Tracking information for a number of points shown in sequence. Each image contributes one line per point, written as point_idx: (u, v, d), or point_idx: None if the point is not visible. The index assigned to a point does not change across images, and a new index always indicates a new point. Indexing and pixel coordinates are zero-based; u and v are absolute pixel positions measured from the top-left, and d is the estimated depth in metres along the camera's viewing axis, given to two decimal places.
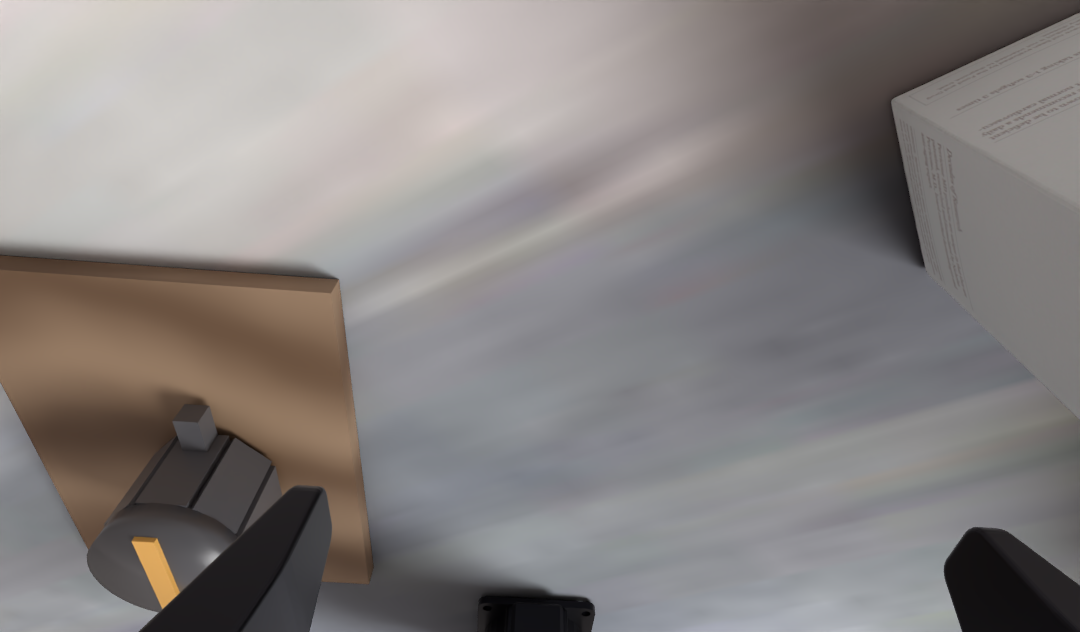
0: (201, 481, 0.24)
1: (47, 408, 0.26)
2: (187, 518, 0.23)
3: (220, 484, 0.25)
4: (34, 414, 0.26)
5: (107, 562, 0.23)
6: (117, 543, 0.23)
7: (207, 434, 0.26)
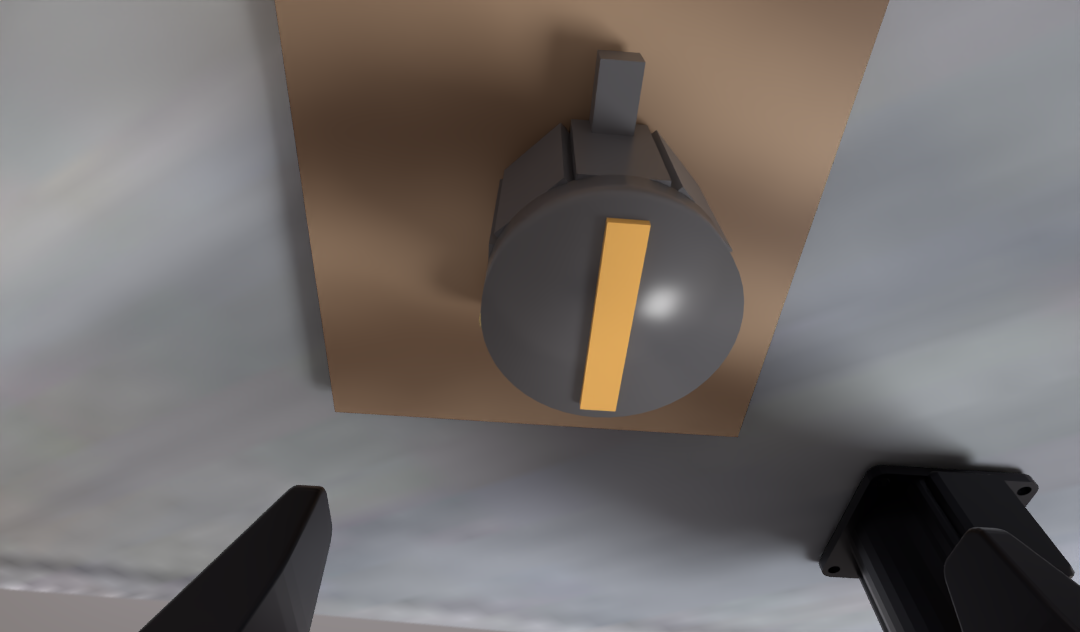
0: None
1: (343, 72, 0.15)
2: (682, 199, 0.12)
3: (682, 176, 0.14)
4: (316, 87, 0.15)
5: (522, 289, 0.12)
6: (563, 237, 0.12)
7: (636, 104, 0.15)
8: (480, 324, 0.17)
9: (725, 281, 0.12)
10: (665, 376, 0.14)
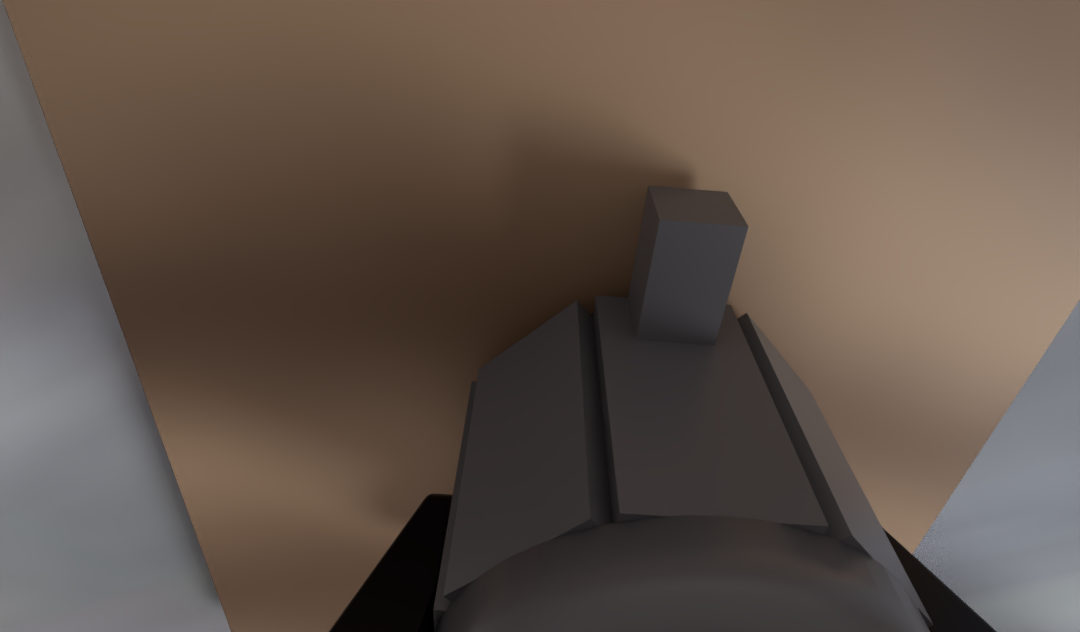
0: (785, 434, 0.07)
1: (184, 216, 0.08)
2: (859, 581, 0.05)
3: (819, 447, 0.07)
4: (141, 239, 0.09)
5: None
6: None
7: (721, 287, 0.08)
8: None
9: None
10: None
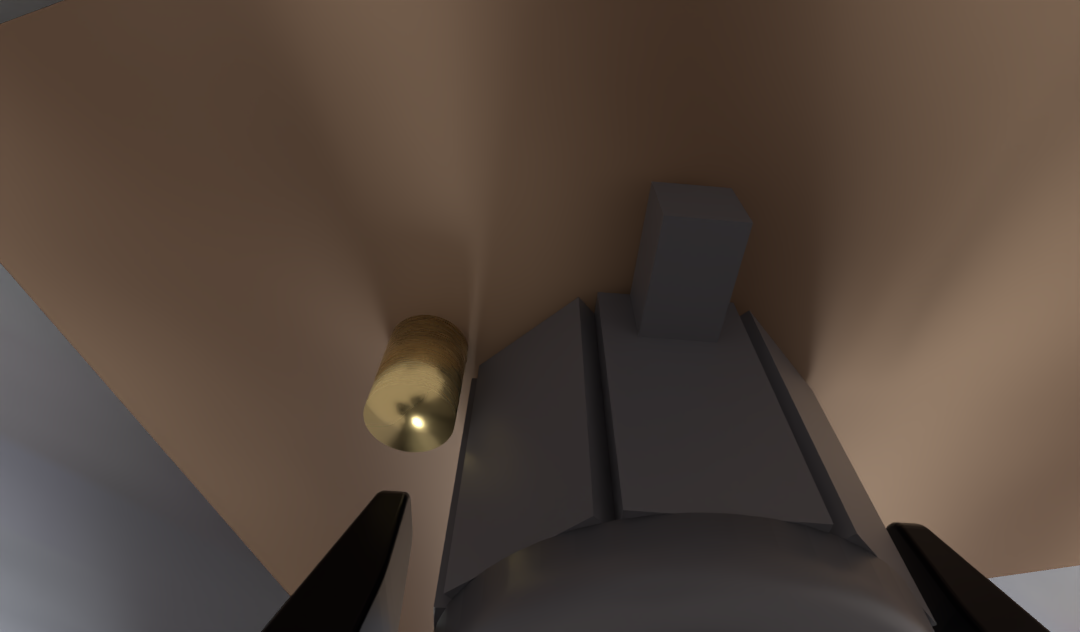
0: (789, 432, 0.07)
1: None
2: (865, 580, 0.05)
3: (822, 445, 0.07)
4: None
5: None
6: None
7: None
8: (382, 392, 0.08)
9: None
10: None
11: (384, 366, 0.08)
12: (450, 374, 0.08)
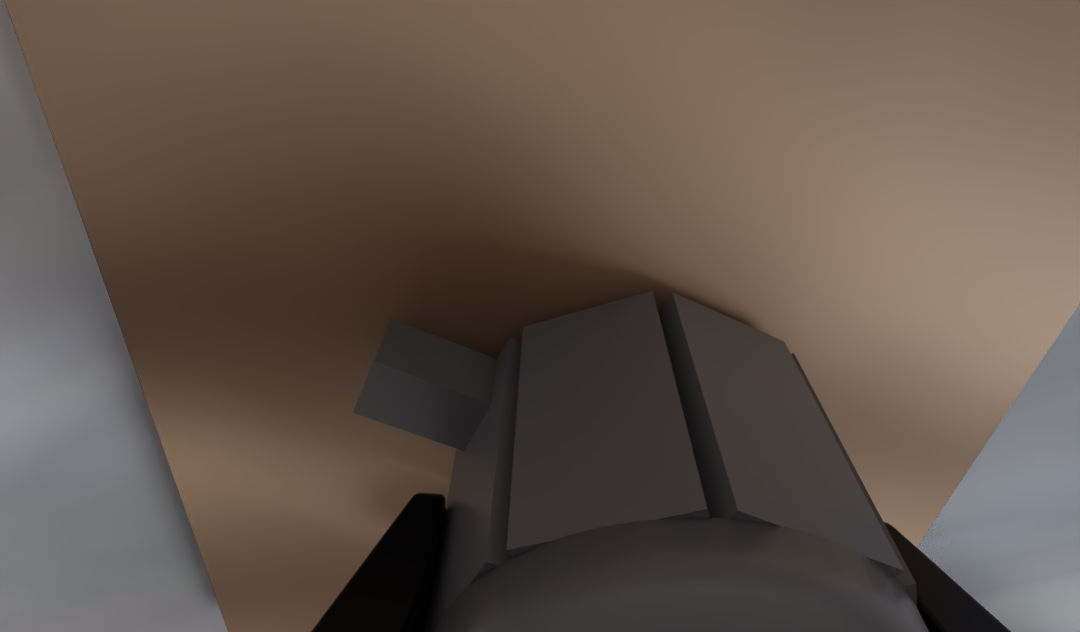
0: (499, 467, 0.07)
1: (184, 213, 0.08)
2: (511, 596, 0.06)
3: (551, 431, 0.07)
4: (140, 236, 0.09)
5: None
6: None
7: (449, 372, 0.09)
8: None
9: None
10: None
11: None
12: None
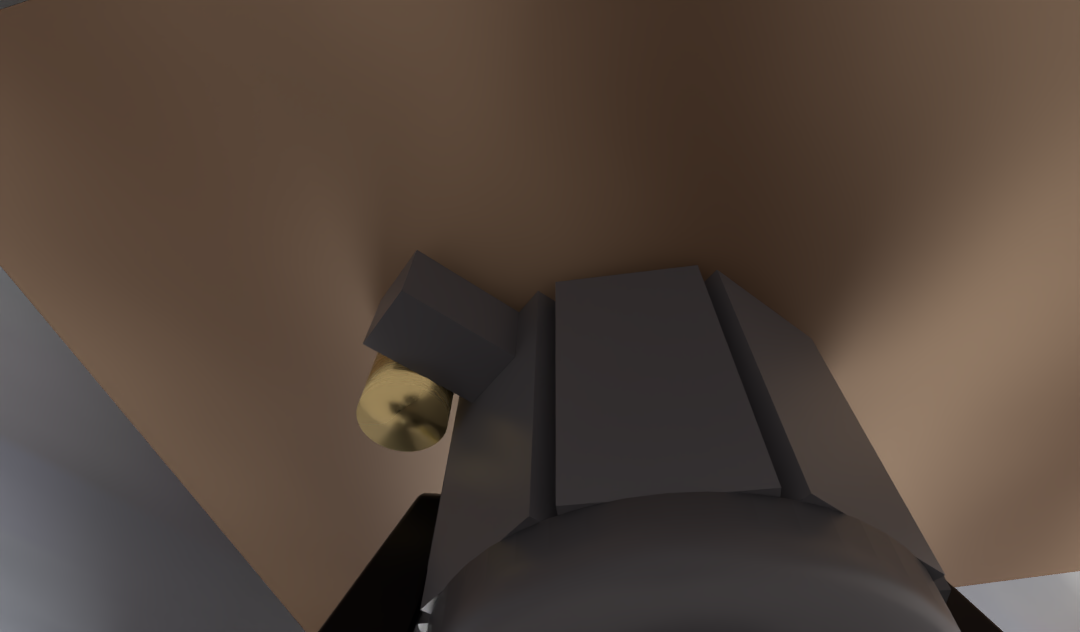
0: (536, 420, 0.06)
1: None
2: (561, 554, 0.05)
3: (597, 390, 0.07)
4: None
5: None
6: None
7: (474, 316, 0.08)
8: (376, 391, 0.08)
9: None
10: None
11: (378, 365, 0.08)
12: None
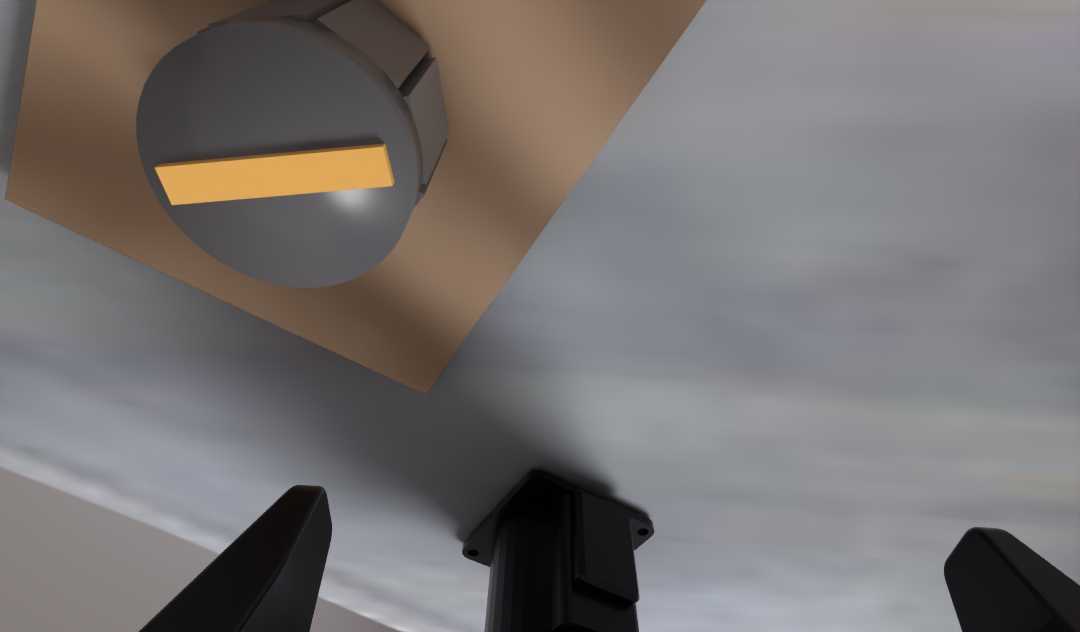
0: None
1: None
2: None
3: None
4: None
5: (278, 257, 0.14)
6: (213, 231, 0.13)
7: None
8: None
9: (179, 68, 0.11)
10: (325, 95, 0.12)
11: None
12: None
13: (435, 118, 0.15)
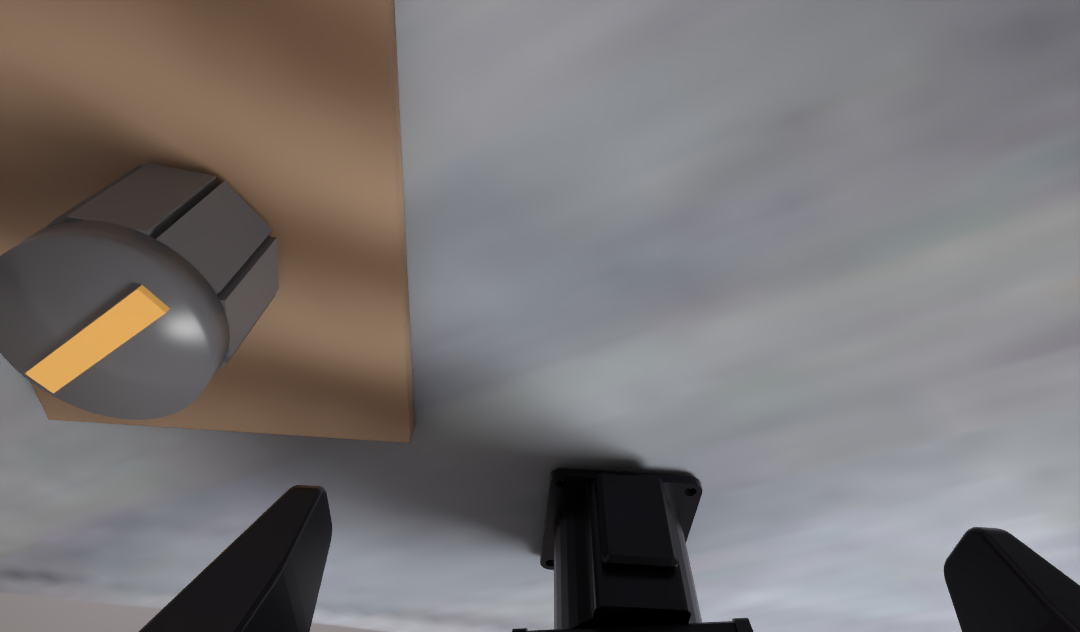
0: None
1: None
2: None
3: None
4: None
5: (145, 397, 0.17)
6: (94, 399, 0.17)
7: None
8: None
9: None
10: (81, 271, 0.14)
11: None
12: None
13: (231, 231, 0.18)
